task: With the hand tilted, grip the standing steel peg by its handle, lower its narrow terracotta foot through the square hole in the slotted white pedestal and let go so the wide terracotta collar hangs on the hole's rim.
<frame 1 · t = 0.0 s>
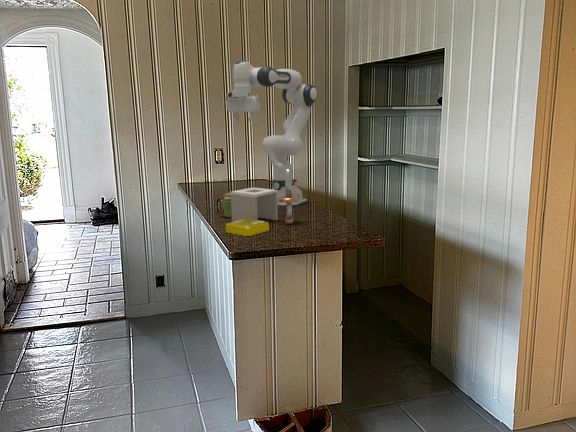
hand: (243, 121, 268), 48 cm above the countertop, tool pointing down, fingers open, 8 cm apart
slotted white pedestal: (255, 220, 257), on the countertop
element tile: (247, 232, 236), on the countertop
plant pot: (230, 216, 269), on the countertop
peg: (289, 223, 251), on the countertop
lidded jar: (234, 207, 293), on the countertop
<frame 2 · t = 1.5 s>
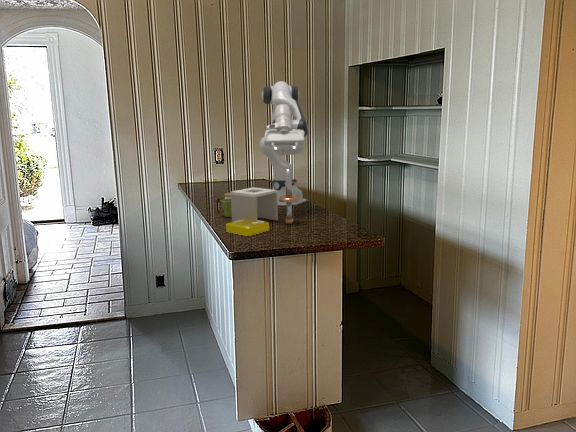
hand: (284, 150, 256), 34 cm above the countertop, tool tilted 45°, fingers open, 8 cm apart
nothing on the countertop moved.
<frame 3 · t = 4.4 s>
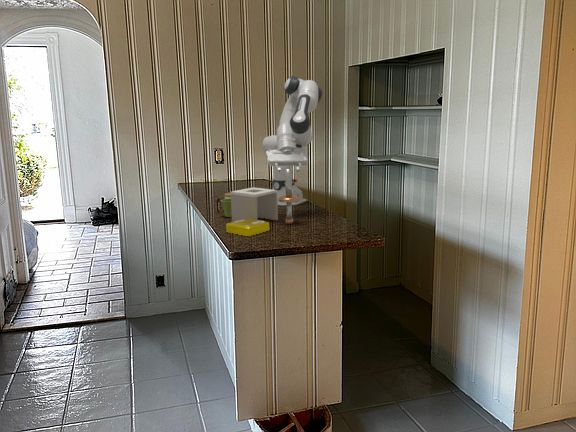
hand: (288, 171, 255), 24 cm above the countertop, tool tilted 45°, fingers open, 8 cm apart
nothing on the countertop moved.
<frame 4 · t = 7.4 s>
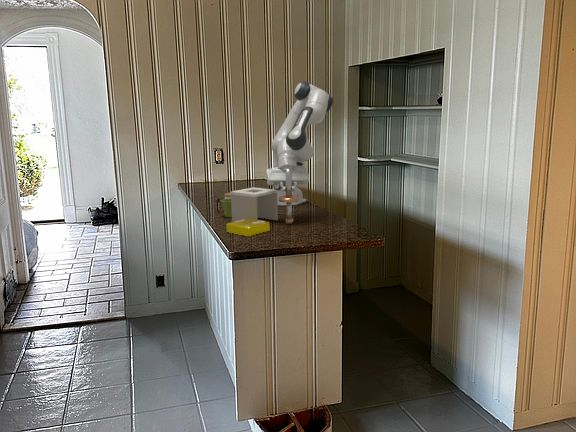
hand: (288, 190, 247), 16 cm above the countertop, tool tilted 45°, fingers closed on peg, 3 cm apart
peg: (289, 223, 251), on the countertop, touching gripper
everything else where it was.
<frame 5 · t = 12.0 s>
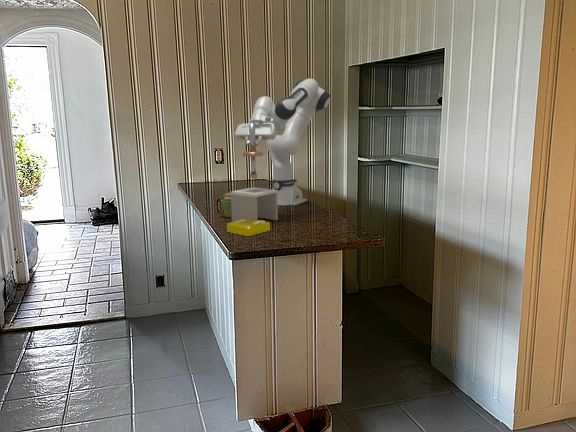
hand: (252, 145, 249), 37 cm above the countertop, tool tilted 45°, fingers closed on peg, 3 cm apart
peg: (253, 178, 252), point 21 cm above the countertop, touching gripper
everything else where it was.
when the fingers open (21 cm above the countertop, at t = 16.5 s): peg stays where it is, resting on slotted white pedestal.
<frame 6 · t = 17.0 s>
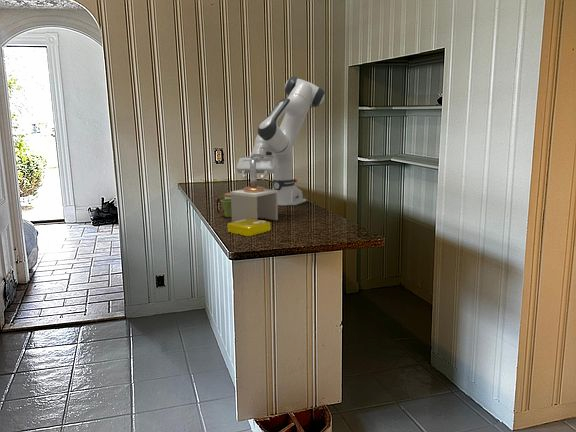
hand: (253, 179, 252), 21 cm above the countertop, tool tilted 45°, fingers open, 8 cm apart
peg: (254, 213, 256), point 4 cm above the countertop, touching slotted white pedestal
everything else where it was.
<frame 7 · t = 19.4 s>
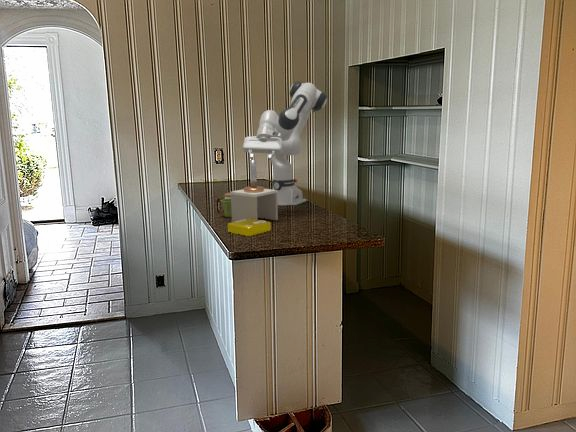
hand: (260, 158, 258), 30 cm above the countertop, tool tilted 45°, fingers open, 8 cm apart
nothing on the countertop moved.
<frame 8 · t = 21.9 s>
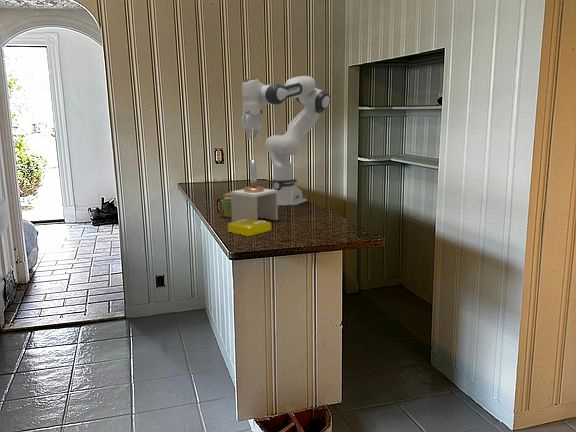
hand: (252, 138, 267), 39 cm above the countertop, tool pointing down, fingers open, 8 cm apart
at the end: peg 0.2 cm off-centre on the slotted white pedestal, point 4.0 cm above the slotted white pedestal's base; peg tilted 0°; the gripper is holding nothing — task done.
